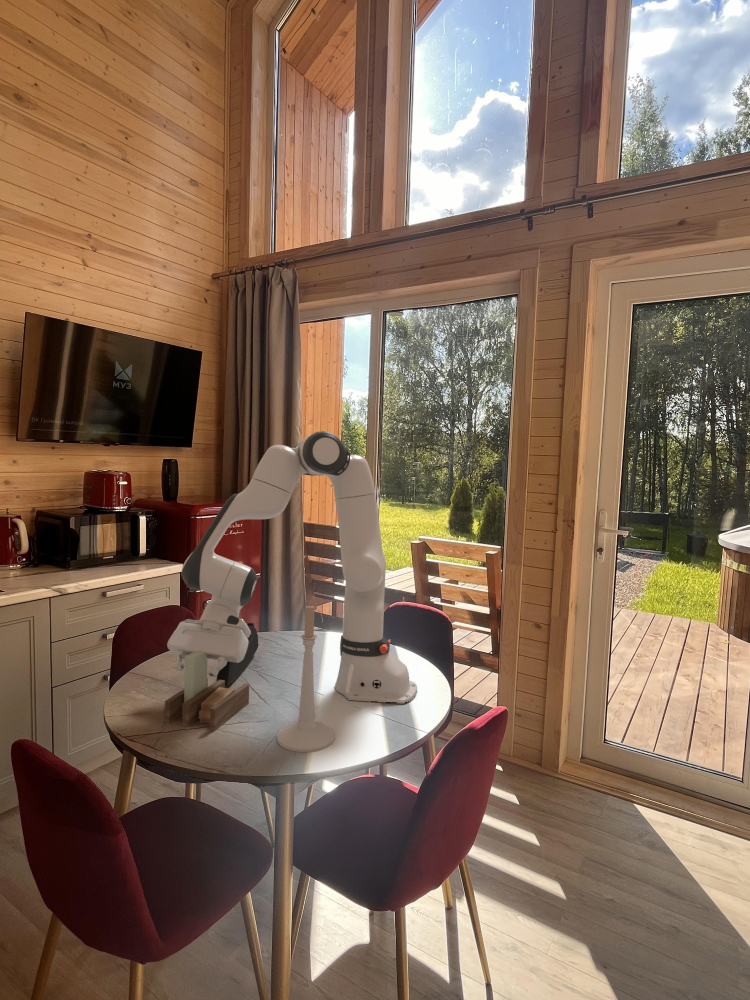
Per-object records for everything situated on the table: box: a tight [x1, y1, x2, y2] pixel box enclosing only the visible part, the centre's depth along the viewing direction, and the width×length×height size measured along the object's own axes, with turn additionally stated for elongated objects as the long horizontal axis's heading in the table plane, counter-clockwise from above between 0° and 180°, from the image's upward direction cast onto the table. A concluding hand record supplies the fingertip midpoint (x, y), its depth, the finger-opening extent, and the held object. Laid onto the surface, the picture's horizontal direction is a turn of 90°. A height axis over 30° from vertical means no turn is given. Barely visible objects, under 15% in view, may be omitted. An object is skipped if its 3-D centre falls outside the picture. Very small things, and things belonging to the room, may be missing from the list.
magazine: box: [215, 622, 259, 688], centre depth 166 cm, size 17×3×30 cm
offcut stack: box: [199, 687, 235, 724], centre depth 138 cm, size 4×11×4 cm, turn 171°
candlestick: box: [276, 605, 336, 753], centre depth 127 cm, size 13×13×30 cm
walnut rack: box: [164, 677, 250, 732], centre depth 138 cm, size 13×16×5 cm
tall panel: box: [183, 651, 208, 703], centre depth 139 cm, size 2×6×14 cm, turn 165°
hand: (194, 672), depth 139 cm, fingers open, 8 cm apart
